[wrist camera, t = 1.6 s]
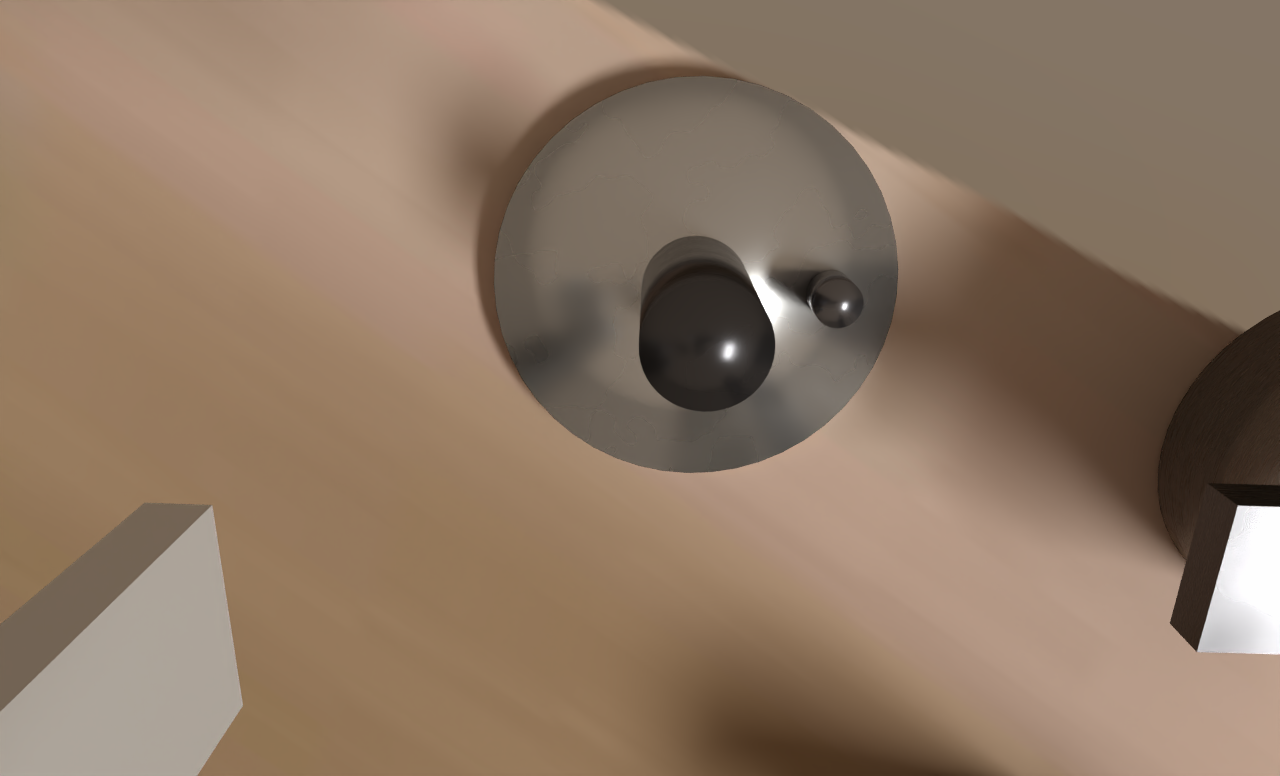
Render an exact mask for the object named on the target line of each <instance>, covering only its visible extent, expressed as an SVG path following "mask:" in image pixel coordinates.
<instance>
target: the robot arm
mask: <svg viewBox="0 0 1280 776" xmlns="http://www.w3.org/2000/svg"><path fill="white" fill-rule="evenodd" d="M242 706H243V703H242V697H241V690H240V684H239V677H238V671H237V664H236V658H235V651H234V644H233V638H232V631H231V625H230V618H229V612H228V605H227V599H226V592H225V586H224V579H223V573H222V566H221V560H220V553H219V546H218V540H217V533H216V527H215V520H214V514H213V507H212V505H194V504H163V503H144V504H143V505H142V506H140V507H139V508H138V509H137V510H136V511H134V512H133V513H132V514H131V515H130V516H129V517H127V518H126V519H125V520H124V521H123V522H121V523H120V524H119V525H118V526H117V527H115V528H114V529H113V530H112V531H111V532H110V533H108V534H107V535H106V536H105V537H104V538H102V539H101V540H100V541H99V542H98V543H96V544H95V545H94V546H93V547H92V548H91V549H89V550H88V551H87V552H86V553H85V554H83V555H82V556H81V557H80V558H79V559H77V560H76V561H75V562H74V563H73V564H72V565H70V566H69V567H68V568H67V569H66V570H64V571H63V572H62V573H61V574H60V575H59V576H57V577H56V578H55V579H54V580H53V581H51V582H50V583H49V584H48V585H47V586H45V587H44V588H43V589H42V590H41V591H40V592H38V593H37V594H36V595H35V596H34V597H32V598H31V599H30V600H29V601H28V602H26V603H25V604H24V605H23V606H22V607H21V608H19V609H18V610H17V611H16V612H15V613H13V614H12V615H11V616H10V617H9V618H8V619H6V620H5V621H4V622H3V623H2V624H0V776H197V775H198V773H199V772H200V770H201V769H202V767H203V766H204V764H205V763H206V761H207V760H208V758H209V756H210V755H211V753H212V752H213V750H214V749H215V747H216V746H217V744H218V743H219V741H220V740H221V738H222V737H223V735H224V734H225V732H226V730H227V729H228V727H229V726H230V724H231V723H232V721H233V720H234V718H235V717H236V715H237V714H238V712H239V711H240V709H241V708H242Z"/></svg>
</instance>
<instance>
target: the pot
mask: <svg viewBox="0 0 1280 776" xmlns="http://www.w3.org/2000/svg"><path fill="white" fill-rule="evenodd" d="M1158 493H1159V501H1160V508H1161V512H1162V515H1163V519H1164V522H1165V525H1166V528H1167V530H1168V532H1169V534H1170V536H1171V538H1172V540H1173V542H1174V544H1175V545H1176V546H1177V548H1178V549H1179V551H1180V552H1181V553H1182V555H1183V556H1184V558H1185V559H1186V560H1187V561H1186V565H1185V568H1184V572H1183V576H1182V580H1181V583H1180V587H1179V591H1178V595H1177V598H1176V602H1175V606H1174V610H1173V614H1172V617H1171V621H1170V624H1171V625H1172V626H1173V627H1174V628H1175V629H1176V630H1177V631H1178V632H1179V634H1180V635H1181V636H1182V637H1183V638H1184V639H1185V640H1186V641H1187V642H1188V643H1189V644H1190V645H1191V646H1192V647H1193V648H1194V649H1195V651H1196V652H1216V653H1251V654H1280V311H1278V312H1276V313H1274V314H1273V315H1271V316H1269V317H1267V318H1265V319H1264V320H1262V321H1261V322H1259V323H1258V324H1256V325H1255V326H1253V327H1252V328H1250V329H1249V330H1247V331H1246V332H1244V333H1243V334H1242V335H1240V336H1239V337H1238V338H1237V339H1236V340H1234V341H1233V342H1232V343H1231V344H1229V345H1228V346H1227V347H1226V348H1225V349H1224V350H1223V351H1222V352H1221V353H1220V354H1219V355H1218V356H1217V357H1216V358H1215V359H1214V360H1213V361H1212V362H1211V363H1210V364H1209V365H1208V366H1207V367H1206V368H1205V369H1204V371H1203V372H1202V373H1201V374H1200V376H1199V377H1198V378H1197V380H1196V381H1195V382H1194V383H1193V385H1192V386H1191V387H1190V389H1189V391H1188V392H1187V394H1186V395H1185V397H1184V399H1183V400H1182V402H1181V404H1180V405H1179V407H1178V409H1177V411H1176V413H1175V415H1174V418H1173V420H1172V422H1171V424H1170V426H1169V429H1168V432H1167V435H1166V438H1165V441H1164V444H1163V448H1162V452H1161V458H1160V464H1159V472H1158Z"/></svg>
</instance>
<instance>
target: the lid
mask: <svg viewBox="0 0 1280 776" xmlns="http://www.w3.org/2000/svg"><path fill="white" fill-rule="evenodd" d="M897 279H898V261H897V248H896V240H895V235H894V231H893V226H892V222H891V217H890V214H889V212H888V209H887V206H886V203H885V201H884V198H883V195H882V192H881V190H880V189H879V187H878V185H877V183H876V181H875V179H874V177H873V175H872V174H871V172H870V170H869V168H868V167H867V165H866V164H865V162H864V161H863V160H862V158H861V157H860V156H859V154H858V153H857V152H856V150H855V149H854V147H853V146H852V145H851V144H850V143H849V142H848V141H847V140H846V139H845V138H844V137H843V136H842V135H841V134H840V133H839V132H838V131H837V130H836V129H835V128H834V127H833V126H832V125H831V124H830V123H828V122H827V121H826V120H824V119H823V118H822V117H820V116H819V115H818V114H817V113H815V112H814V111H813V110H811V109H810V108H808V107H806V106H804V105H803V104H801V103H799V102H797V101H796V100H794V99H792V98H790V97H789V96H787V95H784V94H782V93H779V92H776V91H774V90H771V89H769V88H766V87H764V86H761V85H757V84H753V83H749V82H745V81H741V80H736V79H731V78H720V77H710V76H692V77H674V78H669V79H663V80H658V81H652V82H648V83H645V84H642V85H639V86H636V87H632V88H629V89H626V90H623V91H621V92H619V93H617V94H615V95H613V96H611V97H609V98H607V99H605V100H603V101H601V102H599V103H597V104H595V105H593V106H592V107H590V108H589V109H587V110H586V111H584V112H583V113H582V114H580V115H579V116H577V117H576V118H574V119H573V120H571V121H570V122H569V123H568V124H567V125H566V126H565V127H564V128H562V129H561V130H560V131H559V132H558V133H557V134H556V135H555V136H553V137H552V138H551V139H550V141H549V142H548V143H547V144H546V145H545V146H544V148H543V149H542V150H541V151H540V152H539V153H538V155H537V156H536V157H535V158H534V159H533V161H532V162H531V164H530V166H529V167H528V169H527V170H526V172H525V173H524V175H523V176H522V178H521V180H520V181H519V183H518V185H517V187H516V189H515V191H514V193H513V196H512V198H511V200H510V202H509V204H508V206H507V209H506V213H505V216H504V219H503V222H502V225H501V228H500V232H499V237H498V243H497V249H496V255H495V270H494V289H495V299H496V310H497V314H498V318H499V322H500V327H501V331H502V335H503V338H504V340H505V343H506V346H507V348H508V351H509V353H510V356H511V359H512V360H513V362H514V364H515V366H516V368H517V370H518V372H519V373H520V375H521V377H522V379H523V381H524V382H525V383H526V385H527V386H528V388H529V389H530V391H531V392H532V393H533V395H534V396H535V398H536V399H537V400H538V401H539V402H540V403H541V405H542V406H543V407H544V408H545V409H546V410H547V411H548V412H549V413H550V414H551V415H552V416H553V418H555V419H556V420H557V421H558V422H559V423H560V424H562V425H563V426H564V427H565V428H566V429H568V430H569V431H570V432H571V433H572V434H574V435H575V436H577V437H578V438H580V439H582V440H583V441H585V442H586V443H588V444H589V445H591V446H592V447H594V448H596V449H598V450H600V451H602V452H605V453H607V454H609V455H611V456H613V457H615V458H618V459H621V460H623V461H626V462H629V463H632V464H635V465H638V466H643V467H647V468H652V469H657V470H662V471H672V472H684V473H695V472H714V471H721V470H727V469H734V468H738V467H742V466H746V465H749V464H753V463H756V462H760V461H762V460H765V459H767V458H770V457H772V456H774V455H777V454H779V453H782V452H784V451H785V450H787V449H789V448H791V447H793V446H794V445H796V444H798V443H800V442H802V441H803V440H805V439H806V438H808V437H809V436H810V435H812V434H813V433H815V432H816V431H817V430H819V429H820V428H821V427H823V426H824V425H825V424H826V423H827V422H829V421H830V420H831V419H832V418H833V417H834V416H835V415H836V414H837V413H838V412H839V411H840V410H841V409H842V408H843V407H844V406H845V405H846V404H847V403H848V401H849V400H850V399H851V398H852V397H853V395H854V394H855V393H856V392H857V391H858V389H859V388H860V386H861V385H862V383H863V382H864V380H865V379H866V377H867V376H868V374H869V373H870V371H871V369H872V368H873V366H874V364H875V362H876V360H877V358H878V355H879V353H880V351H881V349H882V347H883V345H884V342H885V339H886V336H887V333H888V330H889V327H890V324H891V321H892V316H893V311H894V306H895V301H896V295H897Z"/></svg>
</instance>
